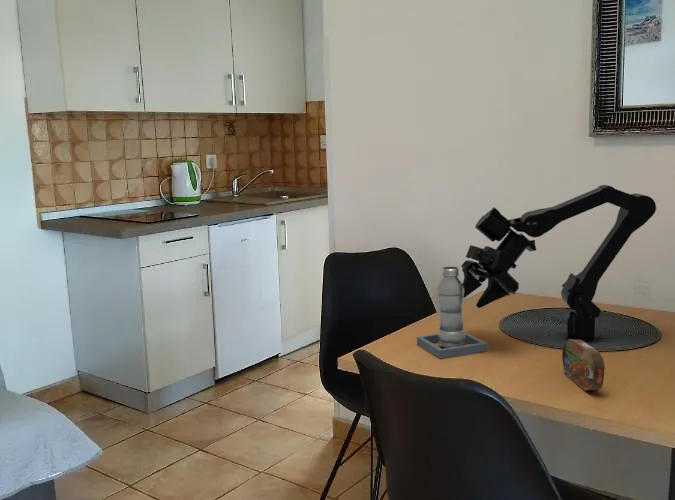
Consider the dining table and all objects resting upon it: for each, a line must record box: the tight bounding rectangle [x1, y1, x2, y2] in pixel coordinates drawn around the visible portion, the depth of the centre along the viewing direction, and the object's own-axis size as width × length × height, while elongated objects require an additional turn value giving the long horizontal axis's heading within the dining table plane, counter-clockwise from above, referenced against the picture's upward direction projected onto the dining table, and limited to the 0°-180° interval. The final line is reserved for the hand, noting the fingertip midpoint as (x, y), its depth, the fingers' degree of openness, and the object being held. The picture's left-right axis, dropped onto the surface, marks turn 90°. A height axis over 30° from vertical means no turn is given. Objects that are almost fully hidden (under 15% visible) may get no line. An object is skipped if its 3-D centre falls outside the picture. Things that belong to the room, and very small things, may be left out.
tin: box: [561, 338, 606, 392], centre depth 138 cm, size 15×3×8 cm, turn 4°
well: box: [416, 331, 488, 360], centre depth 165 cm, size 12×12×2 cm
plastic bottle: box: [436, 266, 466, 349], centre depth 163 cm, size 6×7×20 cm
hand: (467, 302), depth 164 cm, fingers open, 9 cm apart
